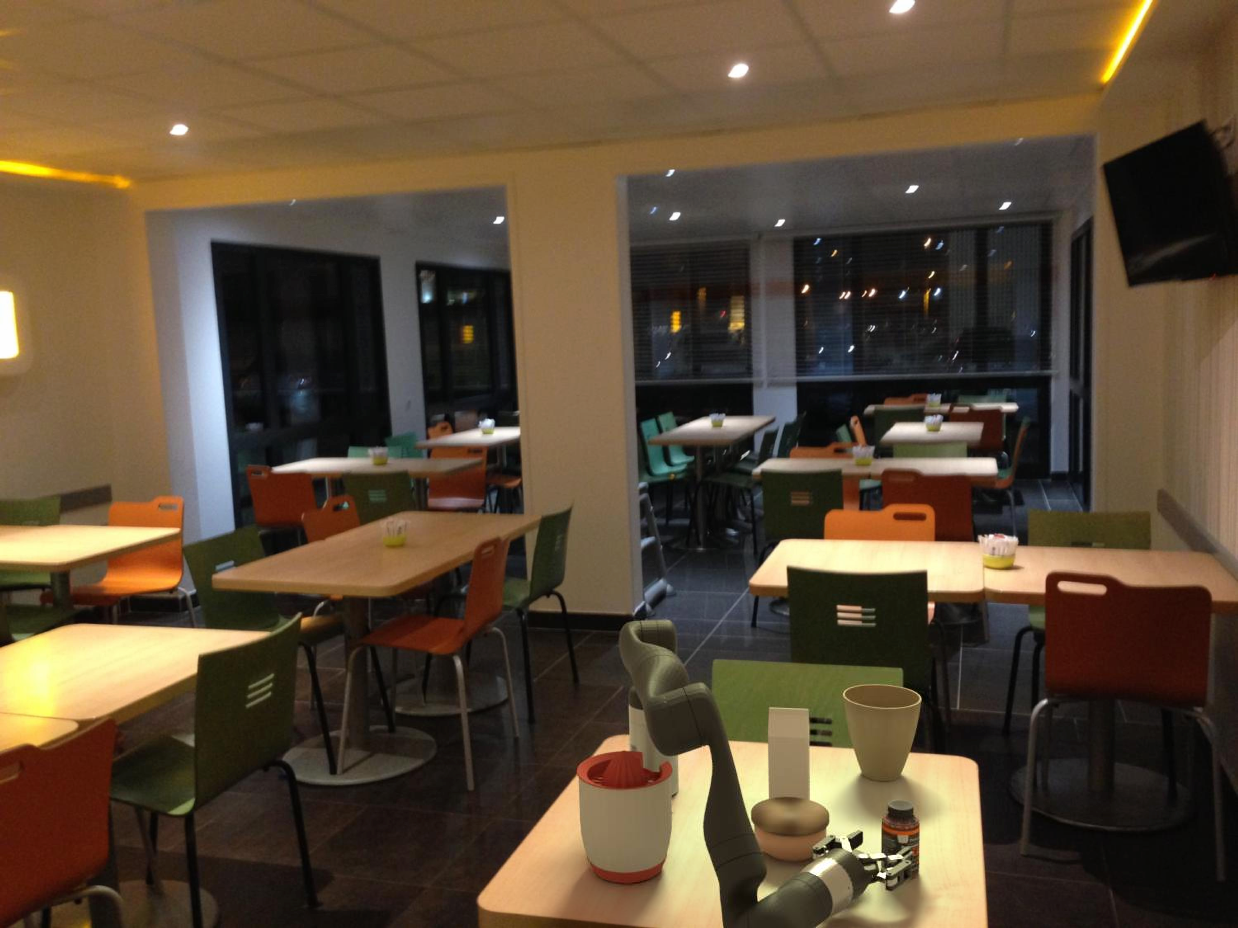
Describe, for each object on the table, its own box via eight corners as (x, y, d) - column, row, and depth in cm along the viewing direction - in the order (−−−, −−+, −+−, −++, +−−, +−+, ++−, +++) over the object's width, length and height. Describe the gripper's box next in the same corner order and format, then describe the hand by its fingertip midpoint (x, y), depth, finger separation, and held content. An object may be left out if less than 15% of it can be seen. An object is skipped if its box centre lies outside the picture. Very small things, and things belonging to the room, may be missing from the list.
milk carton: (808, 818, 193) (808, 715, 191) (768, 815, 194) (767, 714, 192) (809, 801, 200) (809, 702, 198) (771, 799, 201) (770, 701, 199)
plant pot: (909, 794, 201) (910, 712, 200) (833, 780, 209) (832, 701, 207) (929, 767, 214) (929, 689, 212) (856, 754, 222) (856, 679, 220)
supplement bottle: (913, 884, 168) (913, 815, 167) (876, 875, 171) (875, 807, 170) (924, 868, 173) (924, 801, 172) (888, 859, 176) (887, 793, 175)
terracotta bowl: (760, 868, 175) (760, 836, 174) (749, 835, 187) (748, 804, 186) (834, 865, 175) (833, 833, 174) (817, 832, 187) (817, 802, 186)
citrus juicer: (701, 861, 178) (699, 745, 175) (628, 902, 165) (624, 777, 163) (633, 833, 189) (630, 723, 186) (560, 869, 176) (555, 752, 174)
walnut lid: (757, 837, 174) (757, 831, 173) (745, 803, 186) (745, 798, 186) (837, 834, 174) (837, 828, 174) (819, 800, 187) (819, 795, 187)
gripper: (872, 875, 151) (927, 834, 163) (788, 844, 161) (845, 808, 173) (872, 925, 152) (927, 881, 164) (788, 892, 162) (845, 852, 174)
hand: (885, 844), depth 168 cm, fingers open, 8 cm apart
